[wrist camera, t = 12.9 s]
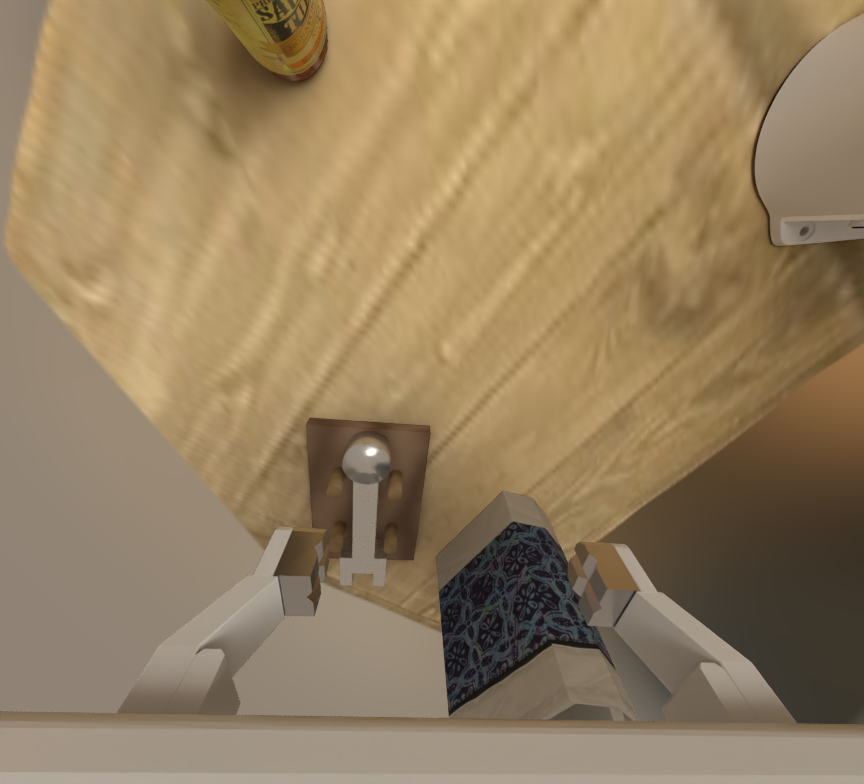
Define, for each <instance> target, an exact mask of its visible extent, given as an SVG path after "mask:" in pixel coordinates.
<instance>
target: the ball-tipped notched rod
mask: <svg viewBox="0 0 864 784" xmlns="http://www.w3.org/2000/svg"><path fill="white" fill-rule="evenodd" d="M391 452H392V448H391V444H390V442H389V441H388V439H387V438H386V437H385V436H383V435H382V434H380V433H377V432H373V431H364V432H360V433H357V434H356V435H354V436H353V437H352V438H351V439H350V440H349V442H348V444H347V448H346V451H345V455H344V458H343V462H342V468H343V471H344V473H345V474H346V476H347V477H348V478H350V479H351V480H352V481H353V539H351V538H344V540H343V545H342V549H341V554H340V585H352V582H353V576H354V573H357V574H373V586H385V573H386V561H387V553H385V552H384V539H376V537H377V519H378V501H379V484H380V481H381V480H383V479H384V478H385V477H386V476H387V475H388V473H389V471H390V463H391Z"/></svg>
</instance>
